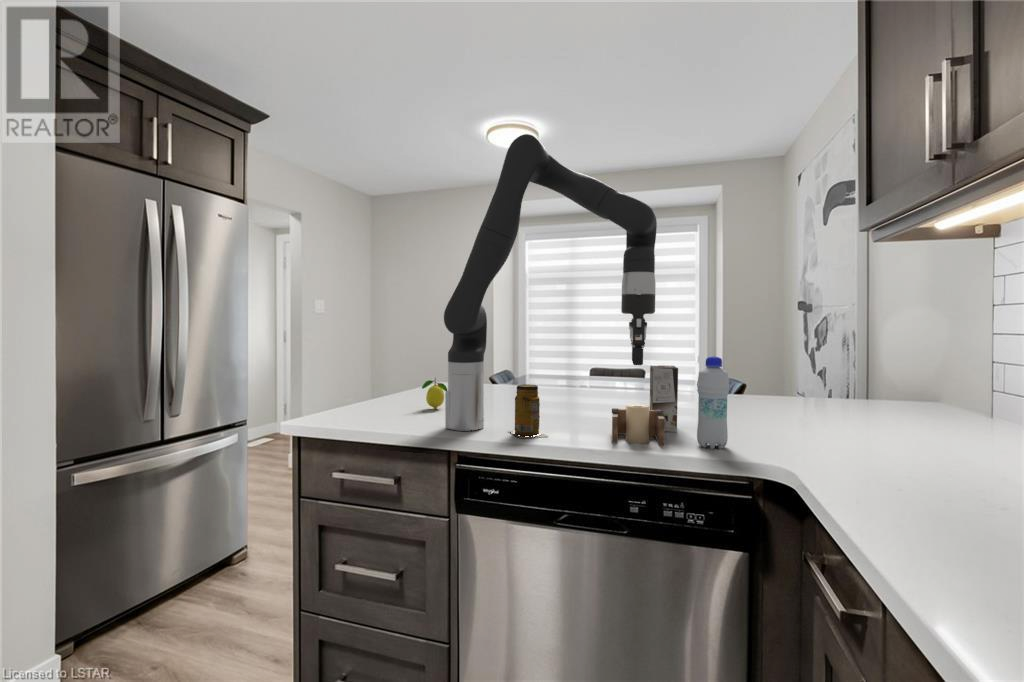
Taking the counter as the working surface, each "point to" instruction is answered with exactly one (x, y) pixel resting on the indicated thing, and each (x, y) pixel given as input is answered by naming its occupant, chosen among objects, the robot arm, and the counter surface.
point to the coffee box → (665, 394)
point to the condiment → (527, 412)
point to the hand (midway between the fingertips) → (637, 363)
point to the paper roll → (637, 423)
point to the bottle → (712, 404)
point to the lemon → (435, 393)
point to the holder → (654, 424)
